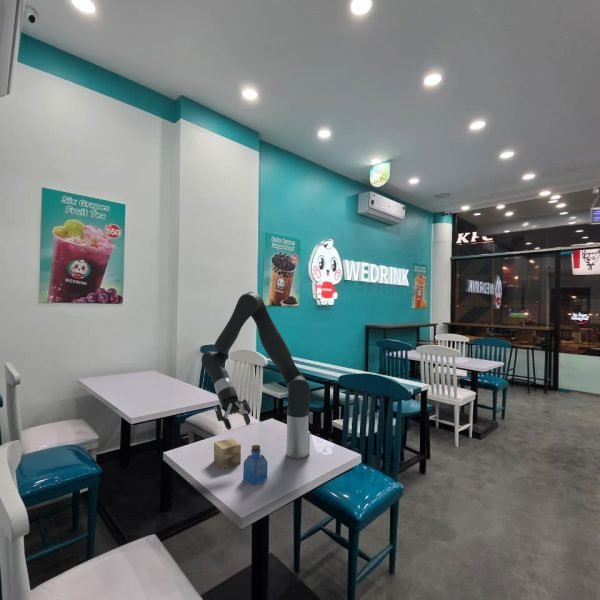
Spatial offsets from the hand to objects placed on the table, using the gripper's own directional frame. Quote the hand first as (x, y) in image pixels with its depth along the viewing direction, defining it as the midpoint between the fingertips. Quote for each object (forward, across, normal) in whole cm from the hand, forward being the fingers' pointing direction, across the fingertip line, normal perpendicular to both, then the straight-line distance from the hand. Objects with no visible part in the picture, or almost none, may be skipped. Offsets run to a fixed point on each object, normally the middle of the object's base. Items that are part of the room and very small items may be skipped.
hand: (239, 426), depth 133 cm
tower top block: (+4, -1, +13) cm, 14 cm away
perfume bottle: (+20, 0, +3) cm, 20 cm away
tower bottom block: (+7, -1, +16) cm, 18 cm away
